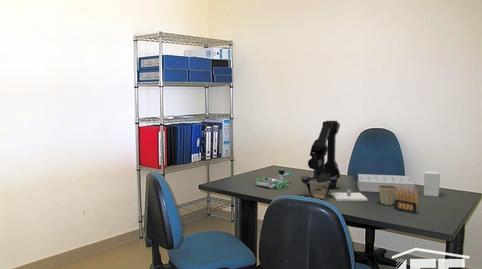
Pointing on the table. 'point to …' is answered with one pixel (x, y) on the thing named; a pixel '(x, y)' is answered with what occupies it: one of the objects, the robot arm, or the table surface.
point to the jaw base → (349, 196)
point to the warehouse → (383, 182)
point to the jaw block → (318, 193)
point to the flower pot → (387, 194)
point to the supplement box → (431, 183)
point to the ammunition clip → (406, 200)
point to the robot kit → (274, 181)
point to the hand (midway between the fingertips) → (318, 194)
